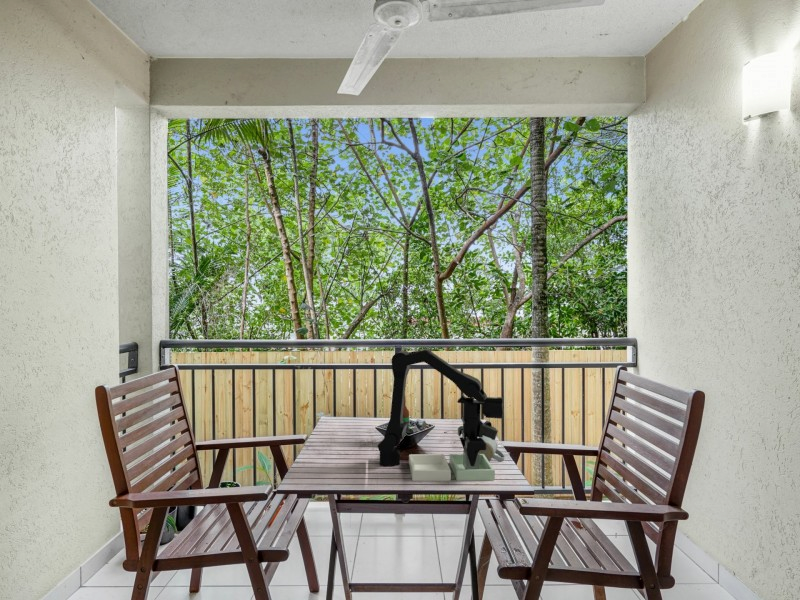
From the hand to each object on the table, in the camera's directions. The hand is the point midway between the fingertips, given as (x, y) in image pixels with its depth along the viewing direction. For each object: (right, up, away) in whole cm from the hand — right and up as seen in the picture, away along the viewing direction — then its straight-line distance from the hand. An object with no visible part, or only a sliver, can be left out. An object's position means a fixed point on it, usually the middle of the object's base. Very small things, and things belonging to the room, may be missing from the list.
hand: (470, 463), depth 171 cm
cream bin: (-14, -3, -1) cm, 14 cm away
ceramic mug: (+9, -4, +16) cm, 19 cm away
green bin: (0, -4, 0) cm, 4 cm away
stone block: (0, -1, 0) cm, 1 cm away
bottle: (-24, -3, +31) cm, 39 cm away
